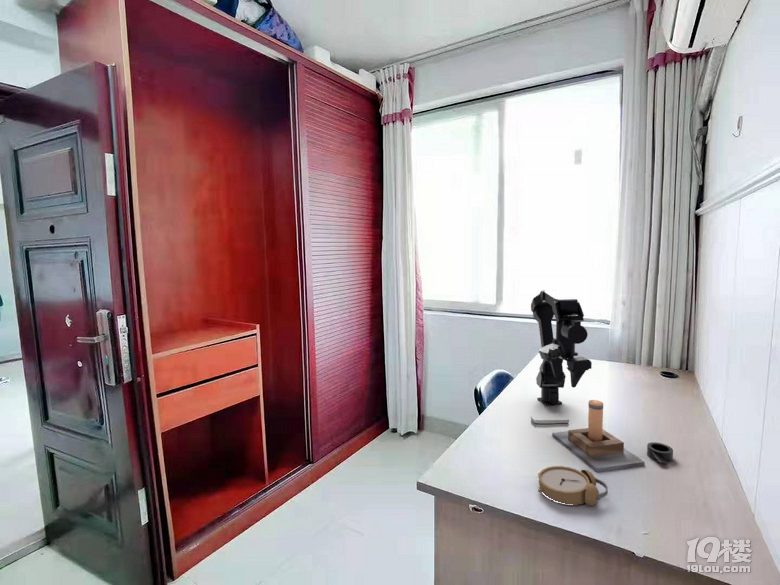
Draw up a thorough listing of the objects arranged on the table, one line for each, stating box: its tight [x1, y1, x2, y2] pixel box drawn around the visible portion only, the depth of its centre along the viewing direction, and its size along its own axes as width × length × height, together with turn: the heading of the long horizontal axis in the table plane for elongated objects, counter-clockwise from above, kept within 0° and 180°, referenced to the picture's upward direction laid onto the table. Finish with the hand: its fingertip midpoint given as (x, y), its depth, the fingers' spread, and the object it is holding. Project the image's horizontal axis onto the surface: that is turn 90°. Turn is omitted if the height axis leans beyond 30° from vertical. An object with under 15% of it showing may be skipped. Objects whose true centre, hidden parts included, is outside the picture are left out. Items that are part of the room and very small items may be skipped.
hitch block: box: [551, 427, 646, 473], centre depth 112 cm, size 20×14×4 cm
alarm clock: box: [537, 465, 609, 507], centre depth 93 cm, size 11×5×15 cm
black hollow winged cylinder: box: [646, 442, 674, 465], centre depth 107 cm, size 8×10×3 cm
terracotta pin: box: [587, 399, 604, 442], centre depth 111 cm, size 4×4×13 cm
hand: (564, 382), depth 129 cm, fingers open, 9 cm apart
